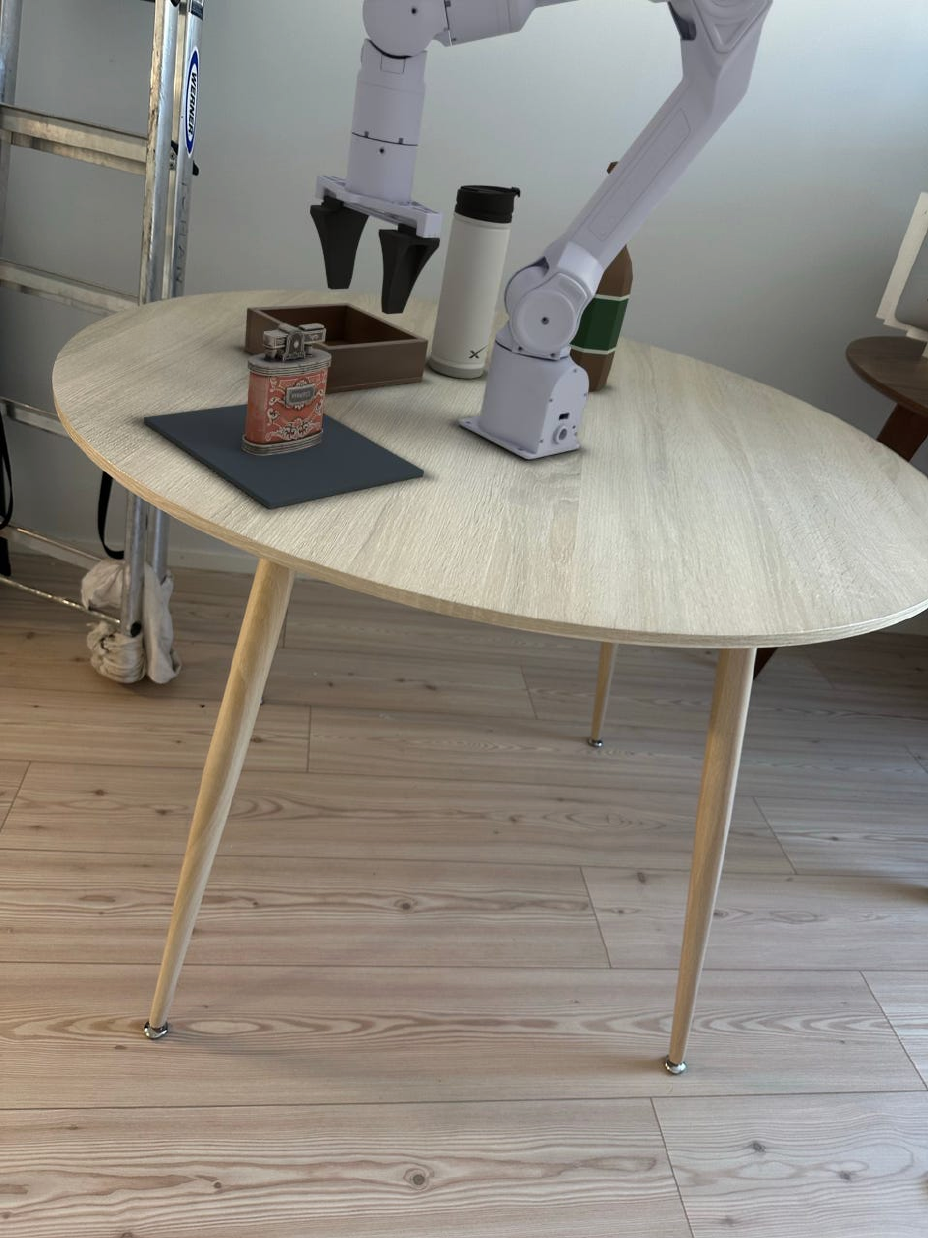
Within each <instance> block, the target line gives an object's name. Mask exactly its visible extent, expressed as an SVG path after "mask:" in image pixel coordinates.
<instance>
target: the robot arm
mask: <svg viewBox="0 0 928 1238" xmlns="http://www.w3.org/2000/svg"><path fill="white" fill-rule="evenodd" d="M576 1H577V2H578V0H363V3H362V4H363V5H362V21H363V26H364V29H365V32H366V34H367V36H368V38H367V37H365V38H364V40H363V43H362V46H361V49H360V57H359V59H360V65H361V66H360V69H359V70H358V72H357V75H356V83H355V84H356V85H355V92H354V101H353V111H352V121H351V130H350V131H351V132H350V140H349V148H348V149H349V150H348V157H347V166H346V167H347V168H346V176H345V178H342V177H339V176H336V175H325V174H317V175H316V183H315V192H314V193H315V194H314V197H315V198H317V199H318V200H322V201H321V203H320V204H311V205H310V208H309V214H310V217H311V219H312V221H313V224H314V226H315V229H316V231H317V234H318V238H319V243H320V246H321V250H322V256H323V262H324V270H325V277H326V284H327V289H329V290H332V291H333V290H349V288H350V285H351V283H352V280H353V274H354V270H355V269H354V268H355V264H356V263H355V262H356V256H357V251H358V248H359V244H360V240H361V237H362V234H363V231H364V230H365V226H366V225H367V223H368V220H369V218H370V217H372V218H376V219H378V220H380V221H382V222H385V223H389V224H392V225H393V226H397V229H396V228H395V229H393V228H390V229H389V228H386V229H385V228H380V229H378V232H377V234H378V238H379V242H380V243H379V244H380V248H381V259H382V283H381V284H382V286H381V298H380V304H381V305H380V306H381V313H383V314H385V315H398V314H403V313H404V311H405V308H406V306H407V304H408V301H409V298H410V296H411V293H412V291H413V289H414V286H415V284H416V282H417V280H418V278H419V276H420V275H421V272H422V271H423V269H424V268H425V266H426V265H427V263H428V261H430V259H431V258H432V256H433V255H434V254H435V252H436V251H437V250H438V249H439V248H440V245H441V244H440V243H441V231H442V226H443V219H444V214H443V213H441V212H438V211H435V210H434V209H431V208H430V207H427V206H426V205H424V204H422V203H420V202H418V201H417V200H415V199H413V198H412V191H413V183H414V175H415V169H416V161H417V153H418V148H419V140H420V132H421V126H422V119H423V111H424V104H425V97H426V89H427V86H426V82H425V79H424V78H425V71H426V63H427V57H428V50H426V48H428V46H429V45H430V43H431V41H437V42H439V43H440V44H442V46H443V47H445V48H447V47H452V46H457V45H462V44H466V43H471V42H472V43H473V42H477V41H481V40H485V39H490V38H491V39H492V38H495V37H496V38H497V37H500V36H504V35H509V34H514V33H519V32H520V31H521V30H523V28H524V26H525V25H526V23H527V21H528V19H529V18H530V16H531V15H532V13H533V12H534V11H535V10H536V9H538V8H543V7H548V6H555V5H560V4H564V3H565V4H566V3H570V2H576ZM648 1H649V2H651V3H653V4H659V3H666V4H667V7H668V11H669V14H670V16H671V18H672V20H673V23H674V25H675V27H676V30H677V32H678V35H679V44H680V57H681V68H682V78H681V80H680V82H679V83H678V84H677V86H676V87H675V88H674V89H673V91H672V92H671V93H670V95H669V96H668V97H667V98H666V99H665V101H664V102H663V103H662V105H661V106H660V108H659V109H658V110H657V112H656V113H655V114H654V115H653V117H652V118H651V119H650V120H649V122H648V123H647V124H646V125H645V127H644V128H643V129H642V131H640V133H639V135H638V136H637V137H636V139H634V141H633V142H632V144H631V145H630V146H629V148H628V149H627V150H626V151H625V153H624V154H623V155H622V156H621V158H620V160H618V163H617V165H616V166H615V167H614V168H613V170H612V171H611V172H610V174H608V175H607V176H606V177H605V179H604V180H603V181H602V182H601V184H600V185H599V186H598V188H597V189H596V191H594V193H593V194H592V196H591V197H590V198H589V199H588V201H587V202H586V204H584V206H583V207H582V209H581V210H580V211H579V212H578V213H577V215H576V216H575V218H573V220H572V221H571V223H570V224H569V225H568V227H567V228H566V229H565V231H563V233H562V234H560V236H558V237H557V238H556V239H554V240H553V241H552V242H551V243H550V244H548V245H547V246H546V247H545V248H544V249H543V251H542V252H541V253H540V254H539V256H538V257H537V258H535V259H534V260H533V261H532V262H530V263H527V264H526V265H524V266H521V267H520V268H518V269H517V270H516V271H514V273H513V274H511V276H510V277H509V279H508V281H507V283H506V285H505V288H504V292H503V303H504V308H505V311H506V313H507V316H508V320H507V321H506V322H505V324H504V325H503V326H502V327H501V328H500V329H498V330H497V331H496V332H495V335H494V341H493V346H492V351H491V356H490V360H489V361H490V362H489V367H488V372H487V377H486V382H485V387H484V392H483V398H482V404H481V408H480V412H479V415H478V416H477V415H476V416H472V417H465V418H460V419H459V422H458V423H459V425H460V426H462V427H464V428H465V429H467V430H470V431H471V432H473V433H475V434H477V435H479V436H481V437H483V438H485V439H487V440H488V441H491V442H493V443H494V444H496V445H498V446H500V447H502V448H504V449H506V450H508V451H509V452H511V453H514V454H515V455H518V456H519V457H521V458H523V459H526V460H534V459H538V458H542V457H543V458H544V457H548V456H551V455H556V454H557V455H558V454H561V453H566V452H570V451H574V450H578V449H579V448H580V443H578V442H577V438H578V435H579V430H580V428H581V427H580V426H581V424H582V423H581V422H582V419H583V415H584V411H585V407H586V402H587V399H588V395H589V394H588V393H589V391H588V390H589V379H588V375H587V373H586V371H585V370H584V369H583V368H581V367H580V366H578V365H577V364H575V363H574V361H573V360H572V359H571V357H570V355H569V354H570V350H571V347H570V344H569V343H570V342H571V341H572V340H573V338H574V336H575V335H576V333H577V330H578V327H579V323H580V319H581V315H582V313H583V311H584V309H585V308H586V306H587V305H588V303H589V302H590V301H591V300H592V298H593V297H594V295H595V293H596V290H597V288H598V285H599V283H600V280H601V277H602V275H603V273H604V271H605V269H606V268H607V267H608V266H609V264H610V263H611V262H612V261H613V260H614V258H615V257H616V256H617V255H618V253H619V252H620V251H621V250H622V248H623V247H624V246H625V245H626V243H627V244H628V243H629V241H630V240H631V239H632V237H633V236H634V235H635V234H636V232H637V231H638V230H639V229H640V228H641V226H642V225H643V224H644V222H645V221H646V220H647V219H648V217H649V216H650V215H651V214H652V213H653V211H654V210H655V209H656V208H657V206H658V205H659V204H660V203H661V201H662V200H663V199H664V198H665V197H666V195H667V194H668V193H669V192H670V190H671V189H672V188H673V186H675V184H676V183H677V181H679V179H680V178H681V177H682V176H683V174H684V173H685V172H686V171H687V169H688V168H689V167H690V165H691V164H692V163H693V162H694V160H695V159H696V158H697V157H698V155H699V154H700V153H701V152H702V151H703V149H704V148H705V147H706V145H707V144H708V143H709V142H710V140H711V139H712V138H713V137H714V135H716V133H718V131H719V129H720V128H721V127H722V126H723V124H724V123H725V122H726V121H727V120H728V119H729V117H730V116H731V115H732V113H733V112H734V111H735V109H737V107H738V106H739V104H740V103H742V101H743V99H744V97H745V95H746V94H747V93H748V90H749V87H750V82H751V78H752V75H753V70H754V65H755V60H756V56H757V52H758V48H759V44H760V40H761V36H762V31H763V27H764V24H765V21H766V19H767V17H768V14H769V12H770V10H771V8H772V5H773V3H774V0H648Z"/></svg>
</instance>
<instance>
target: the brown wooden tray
mask: <svg viewBox="0 0 928 1238" xmlns="http://www.w3.org/2000/svg"><path fill="white" fill-rule="evenodd" d="M246 309H247V310H246V321H245V322H246V323H245V334H244V335H245V337H244V346H243V347H244V349H243V350H244V351H245V352H247V353H249V354H251V355H252V356H254V355H258V354H262V353H265V351H264V345H263V335H264V332H265V331H273V330H277V328H278V326H279V325H280V324H283V323H286V324H288V325H291V326H293V327H295V328H299V325H307V324H321V325H323V326H324V328H325V329H326V333H325V341H323V342H317V343H311V345H312V348H313V349H319V350H323V351H325V352H328V353H329V354H331V365H330V366H329V367H328V371H327V380H326V389H325V394H332V393H339V392H347V391H355V390H363V389H371V388H379V387H386V386H396V385H403V384H412V383H419V382H423V379H424V372H425V371H424V370H425V365H426V360H427V359H426V358H427V353H428V348H429V340H428V339H426V338H424V337H422V336H420V335H418V334H416V333H414V332H412V331H409V330H408V329H405V328H403V327H402V326H401V327H400V326H398V325H396V324H394V323H392V322H390V321H388V320H385V319H384V318H381V317H379V316H377V315H375V314H373V313H370V312H369V311H367V310H364V309H363V308H359V307H358V306H355V305H353V304H351V303H349V302H339V303H338V302H337V303H319V304H297V305H296V304H295V305H294V304H293V305H277V306H275V305H274V306H255V307H247V308H246Z"/></svg>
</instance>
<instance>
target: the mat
mask: <svg viewBox="0 0 928 1238" xmlns="http://www.w3.org/2000/svg"><path fill="white" fill-rule="evenodd" d="M246 417H247V403H245V404H238V405H237V404H236V405H230V406H229V405H228V406H222V407H213V408H205V409H198V410H190V411H181V412H175V413H166V414H165V413H164V414H158V415H150V416H143V423H144V424H146V425H147V426H148V427H150V428H151V429H153V430H154V431H155V432H156V433H158V434H160V435H161V436H163V437H164V438H165V439H167V440H169V441H170V442H171V443H173V444H174V445H176V446H178V447H179V448H180V449H182V450H183V451H185V452H186V453H187V454H189V455H190V456H191V457H193V458H195V459H196V460H198V461H199V462H201V463H202V464H204V465H205V466H206V467H207V468H209V469H211V470H212V471H213V472H215V473H216V474H218V475H219V476H221V477H222V478H224V480H227V481H228V482H230V483H231V484H232V485H234V486H235V487H237V488H238V489H239V490H241V491H242V492H244V493H245V494H247V495H249V497H251V498H253V499H254V500H255V501H256V502H258V503H260V504H261V505H263V506H264V507H266V508H267V509H268V510H271V509H276V508H280V507H285V506H289V505H294V504H299V503H303V502H307V501H308V502H309V501H314V500H316V499H322V498H327V497H331V496H335V495H341V494H345V493H351V492H355V491H359V490H364V489H369V488H373V487H378V486H382V485H387V484H392V483H396V482H401V481H406V480H411V479H415V478H418V477H423V476H424V474H425V470H424V469H422V468H420V467H419V466H417V465H415V464H413V463H411V462H410V461H408V460H406V459H404V457H401V456H399V455H398V454H395V453H394V452H392V451H390V450H389V449H387V448H386V447H384V446H382V445H381V444H378V443H377V442H375V441H373V440H372V439H370V438H368V437H366V436H365V435H363V434H361V433H359V432H358V431H355V430H354V429H352V428H350V427H349V426H347V425H346V424H344V423H341V422H340V421H338V420H336V419H334V418H333V417H331V416H329V415H328V414H326V413H324V412H323V415H322V424H321V428H322V429H323V434H322V441H321V442H320V443H317V444H315V445H312V446H310V447H307V448H303V449H300V450H296V451H291V452H286V453H280V454H272V455H254V454H251V453H248V452H246V451H245V450H243V448H242V440H243V435H245V430H246Z"/></svg>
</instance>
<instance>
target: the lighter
mask: <svg viewBox="0 0 928 1238" xmlns="http://www.w3.org/2000/svg"><path fill="white" fill-rule="evenodd" d="M325 333H326V329H325V328H324V326H323V325H321V324H307V325H299V328H295V327H293V326H291V325H288V324H286V323H283V324H280V325H279V326H278V328H277V330H273V331H265V332H264V335H263V345H264V351H265V353H262V354H258V355H251V356H249V357H248V358H247V369H248V371H249V374H248V375H249V377H248V391H247V393H248V394H247V403H246V404H247V417H246V430H245V435H243V440H242V448H243V450H245V451H246V452H248V453H251V454H254V455H272V454H280V453H286V452H291V451H296V450H300V449H303V448H307V447H310V446H312V445H315V444H317V443H320V442H321V441H322V434H323V429H322V428H321V424H322V415H323V413H324V405H325V396H326V393H325V389H326V380H327V371H328V367H329V366H330V365H331V354H329V353H328V352H325V351H323V350H319V349H313V348H312V345H311V343H317V342H323V341H325Z"/></svg>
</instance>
